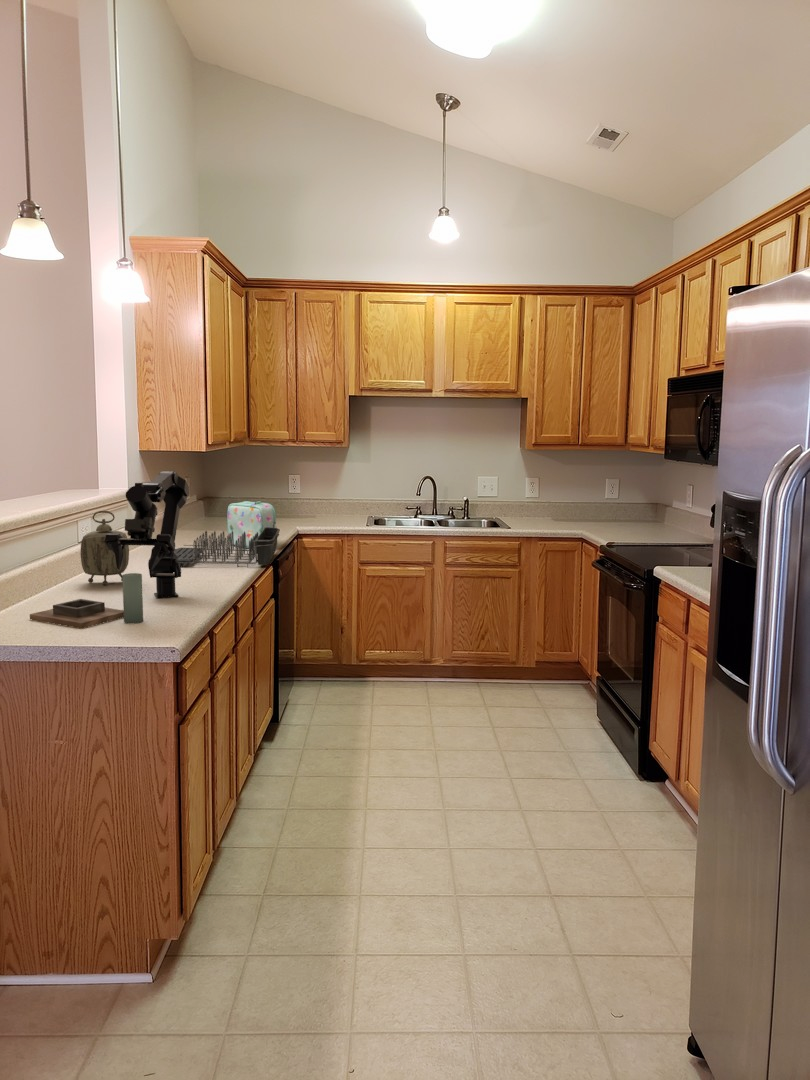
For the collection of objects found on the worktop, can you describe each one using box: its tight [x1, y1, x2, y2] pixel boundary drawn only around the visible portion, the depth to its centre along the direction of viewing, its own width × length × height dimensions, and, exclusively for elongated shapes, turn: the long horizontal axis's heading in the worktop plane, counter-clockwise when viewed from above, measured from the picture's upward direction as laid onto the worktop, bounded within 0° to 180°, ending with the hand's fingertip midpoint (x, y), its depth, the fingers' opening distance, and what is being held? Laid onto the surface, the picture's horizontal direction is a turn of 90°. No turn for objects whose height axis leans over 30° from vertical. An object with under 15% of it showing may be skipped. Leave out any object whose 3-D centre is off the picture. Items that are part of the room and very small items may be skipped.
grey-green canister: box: [122, 572, 144, 624], centre depth 211 cm, size 5×5×13 cm
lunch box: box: [226, 500, 278, 549], centre depth 347 cm, size 27×10×21 cm, turn 51°
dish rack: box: [174, 527, 281, 568], centre depth 310 cm, size 34×44×12 cm
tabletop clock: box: [79, 510, 130, 586], centre depth 259 cm, size 14×9×25 cm, turn 103°
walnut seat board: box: [29, 598, 124, 629], centre depth 214 cm, size 16×20×4 cm
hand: (134, 569), depth 215 cm, fingers open, 9 cm apart
